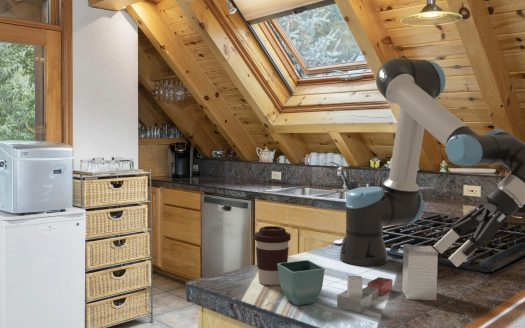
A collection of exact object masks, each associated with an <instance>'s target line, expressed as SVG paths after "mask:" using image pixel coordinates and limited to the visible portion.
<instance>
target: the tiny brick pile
mask: <svg viewBox="0 0 525 328" xmlns="http://www.w3.org/2000/svg"><path fill="white" fill-rule="evenodd" d="M346 282H347V284H346V285H347V287H346V290H344V291H342V292H340V293H338V294H337V296H336V308H337V307H339V308H338V309H341V308H344V309H343V310H346V309H347V310H346V311H350V310H352V311H351V312H354V311H355V312H354V313H358V312H359V313H358V314H361V313H363V312H364V311H366V310H368V309H369V308H371V307H372V302H373V301H375V300H376V299H378V298H380V297H383V296H385V295H386V294H388V293H390V292H391V291H393V279H391V278H386V277H380V276H378V277H377V278H374V279H373V280H371V281H369V282H367V286H365V287H363V277H362V276H361V275H347V281H346Z"/></svg>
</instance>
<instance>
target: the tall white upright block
mask: <svg viewBox="0 0 525 328" xmlns="http://www.w3.org/2000/svg"><path fill="white" fill-rule="evenodd" d="M402 249H403V252H402V253H403V254H402V286H401V287H402V289H401V290H402V292H403V294H404V296H405V298H406V299H407V300H420V301H421V300H424V301H437V293H438V292H437V290H438V289H437V287H438V283H437V282H438V259H439V257H438V255H439V251H438V250H437V249H436V248H435V247H434V246H432V245H413V244H412V245H410V244H408V245H407V244H403V247H402Z"/></svg>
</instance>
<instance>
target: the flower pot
mask: <svg viewBox="0 0 525 328" xmlns="http://www.w3.org/2000/svg"><path fill="white" fill-rule="evenodd" d="M277 265H278V274H279V281H280V285H279V286H280V288H281V290H282V293H283V295H284V296H285V298H286V301H287V300H288V301H289V302H290V303H292V304H293V305H294V306H301V305H309V304H314V303H315V302H316V301H317V299H318V298H319V296H320V295H321V292H322V290H323V284H324V277H325V270H326V269H325V267H323V266H321V265H319V264H317V263H314V262H313V261H311V260H308V259H304V260H295V261H287V262H286V263H278V264H277Z"/></svg>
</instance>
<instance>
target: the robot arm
mask: <svg viewBox="0 0 525 328" xmlns="http://www.w3.org/2000/svg"><path fill="white" fill-rule="evenodd" d="M375 84H376V88H377V90H378V91H379V93H380V94H381V95H382V97H384V98H385V99H386V100H387V101H388V102H389V103H391V104H397V105H398V106H399V112H398V117H397V123H396V124H397V125H396V129H395V130H396V131H395V136H394V141H393V144H394V145H393V149H392V155H391V162H390V169H389V176H388V178H387V179H385V181H384V182H383V184H382V187H381V186H361V187H356V188H352V189H350V190H348V192H347V195H346V201H345V210H346V211H345V237H344V240H343V243H342V246H341V247H340V252H339V260H340V261H341V262H343V263H345V264H349V265H353V266H354V265H355V266H364V267H366V266H367V267H368V266H369V267H372V266H382V265H385V264H387V263H388V257H389V255H388V252H387V249H386V244H385V242H384V237H383V233H384V232H383V230H384V227H390V226H391V227H392V226H406V225H409V224H413V223H415V222H417V221H418V220H419V219H420V218H421V217H422V215H423V212H424V210H425V200H424V199H423V195H422V193H421V192H420V186H419V185H418V184H417V182H416V181H417V175H418V169H419V163H420V158H421V152H422V151H421V150H422V146H423V145H422V144H423V139H424V133H425V130H426V131H427V132H428V133H430V135H432V136H433V137H434V138H435V139H437V140H438V142H439V143H441V145H443V146H444V147H445V154H446V155H447V159H448V160H449V162H451V163H452V164H454V165H456V166H463V167H472V166H484V165H487V166H488V165H489V166H490V165H492V166H493V165H501V166H503V167H506V169H508V170H509V171H511V172H510V173H508V174H507V175H506V176H505V177H504V178H503V179H502V180H501V181H500V182H499V183H498V184H497V187H494V188H492V190H491V191H489V192H488V194H486V195H485V200H486V202H487V204H485V205H483V204H482V203H479V204H478V205H476V207H475V208H474V209H472V210H470V211H469V212H468V213H466V214H465V215H464V216H462V217H460V218H459V219H457V220H456V221H454V222H453V223H452V224H451V229H450V230H449V231H448V232H447V233H446V234H445V235H444V236H443V237H441V239H439V240H438V241H437V243H435V244H434V245H433V248H434V249H435V250H436V251H437V252H438V253H440V254H443V253H444V252H445V251H447V249H448V248H450V247H451V246H452V245H453V244H454V243H455V242H456V241H458V240H459V238H462V236H463V234H464V233H466V232H468V231H470V230H472V229H473V228H476V227H477V228H476V230H475V232H474V234H473V235H472V236H470V237H468V239H467V240H466V241H465V242H464V243H463V244H462V245H461V246H460V247H459V248H457V249H456V250H455V251H454V252H453V253H452V254H451V255H450V256H449V257H448V260H449V261H450V262H451V263H452V264H453V265H454V266H455V267H456V268H458V267H460V266H461V264H462V263H464V262H465V261H466V260H467V259H468V258H469V257H470V256H472V254H473V253H475V251H477V249H481V248H483V249H485V248H487V246H488V245H489V244H490V242H491V241H492V240H493V238H494V237H495V235H496V234H497V232H498V231H499V230H500V228H501V227H502V226H503V224H504V223H505V222H506V221H507V220H508V219H510V218H511V217H512V216H513V215H515V214H516V213H517V212H518V211H519V210H520V207H523V206H524V205H525V142H524V141H522V140H520V139H519V138H517V137H516V136H514V135H513V134H512V133H510V132H508V131H505V130H503V129H501V128H494V129H492V130H491V131H490V130H489V131H488V132H487V133H486V134H478V133H477V132H475V131H474V130H473V129H471V128H470V127H469V126H468V125H466V124H465V123H464V122H463V121H462V120H461V119H459V117H457V116H456V115H454V114H453V113H452V112H450V111H449V110H448V109H447V108H446V107H445V106H443V105H442V104H441V103H440V102H439V101H437V100H436V98H438V97H440V96H441V94H442V93H443V92H444V89H445V87H446V74H445V72H444V70H443V69H442V67H441V66H440V64H439V63H437V62H435V61H431V60H427V59H415V58H403V57H394V58H390V59H388V60H386V61H384V62H383V63H382V64H381V65H380V67H379V68H378V70H377V72H376V76H375Z"/></svg>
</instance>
